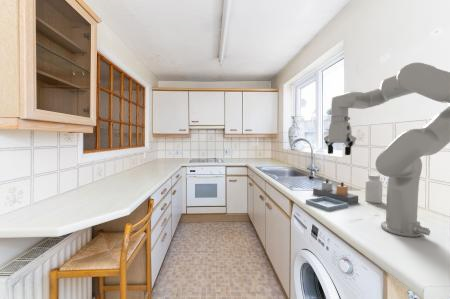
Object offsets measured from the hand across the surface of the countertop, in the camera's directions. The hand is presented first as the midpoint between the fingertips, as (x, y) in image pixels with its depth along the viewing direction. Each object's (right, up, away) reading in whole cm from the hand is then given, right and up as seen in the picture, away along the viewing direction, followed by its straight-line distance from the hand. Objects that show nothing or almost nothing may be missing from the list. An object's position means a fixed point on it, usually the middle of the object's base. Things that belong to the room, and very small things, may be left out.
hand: (338, 154), depth 110 cm
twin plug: (+5, -27, +24) cm, 36 cm away
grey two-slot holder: (+7, -27, +19) cm, 34 cm away
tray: (-3, -28, +7) cm, 29 cm away
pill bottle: (+27, -28, +14) cm, 41 cm away
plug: (+9, -27, +15) cm, 33 cm away
